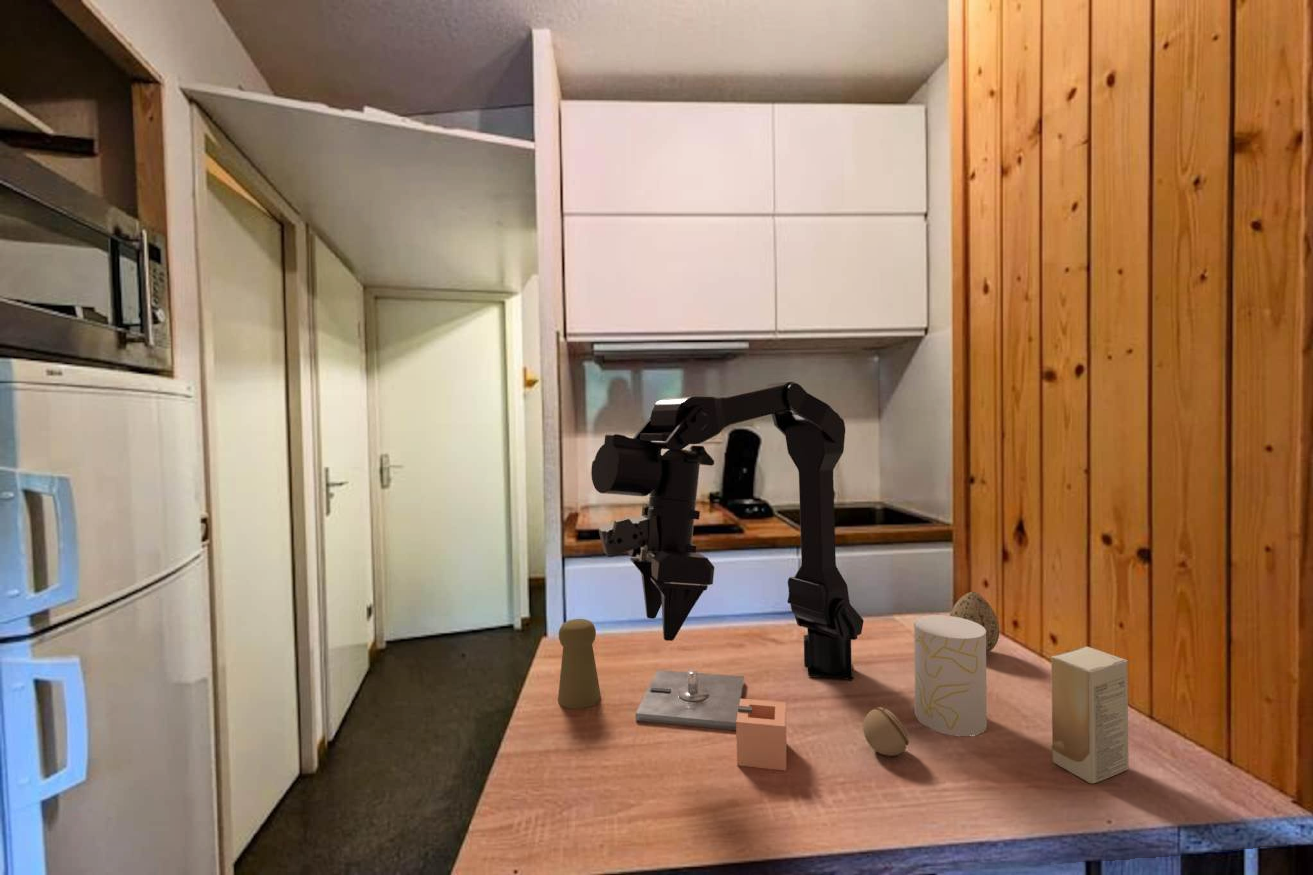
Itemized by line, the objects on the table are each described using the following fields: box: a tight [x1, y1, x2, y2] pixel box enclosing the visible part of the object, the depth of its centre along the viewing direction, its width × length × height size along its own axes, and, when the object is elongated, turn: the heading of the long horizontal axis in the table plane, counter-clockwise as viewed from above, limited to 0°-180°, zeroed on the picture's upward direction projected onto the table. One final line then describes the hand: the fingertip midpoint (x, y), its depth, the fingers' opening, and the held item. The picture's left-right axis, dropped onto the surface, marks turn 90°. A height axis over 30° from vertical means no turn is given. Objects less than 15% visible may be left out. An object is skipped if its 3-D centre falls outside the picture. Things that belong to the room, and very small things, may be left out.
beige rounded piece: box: [862, 706, 910, 757], centre depth 67 cm, size 5×5×5 cm
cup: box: [913, 614, 988, 737], centre depth 73 cm, size 8×8×12 cm
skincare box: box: [1050, 646, 1130, 784], centre depth 63 cm, size 6×4×12 cm
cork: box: [557, 618, 602, 710], centre depth 81 cm, size 6×6×11 cm
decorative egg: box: [949, 591, 1000, 654], centre depth 93 cm, size 7×7×10 cm
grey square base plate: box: [635, 669, 745, 731], centre depth 80 cm, size 13×13×4 cm
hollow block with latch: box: [735, 698, 788, 771], centre depth 67 cm, size 5×5×5 cm
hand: (659, 628), depth 69 cm, fingers open, 9 cm apart
